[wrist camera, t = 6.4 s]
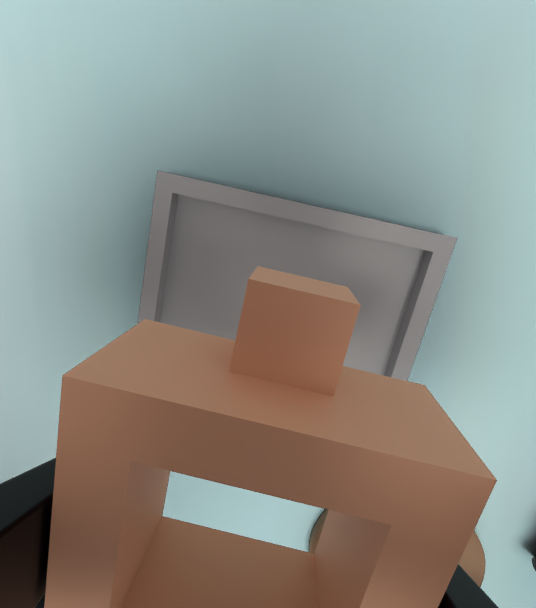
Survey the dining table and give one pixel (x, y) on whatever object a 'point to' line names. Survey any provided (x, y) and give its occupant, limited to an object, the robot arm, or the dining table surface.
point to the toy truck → (534, 562)
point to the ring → (257, 465)
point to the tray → (289, 265)
